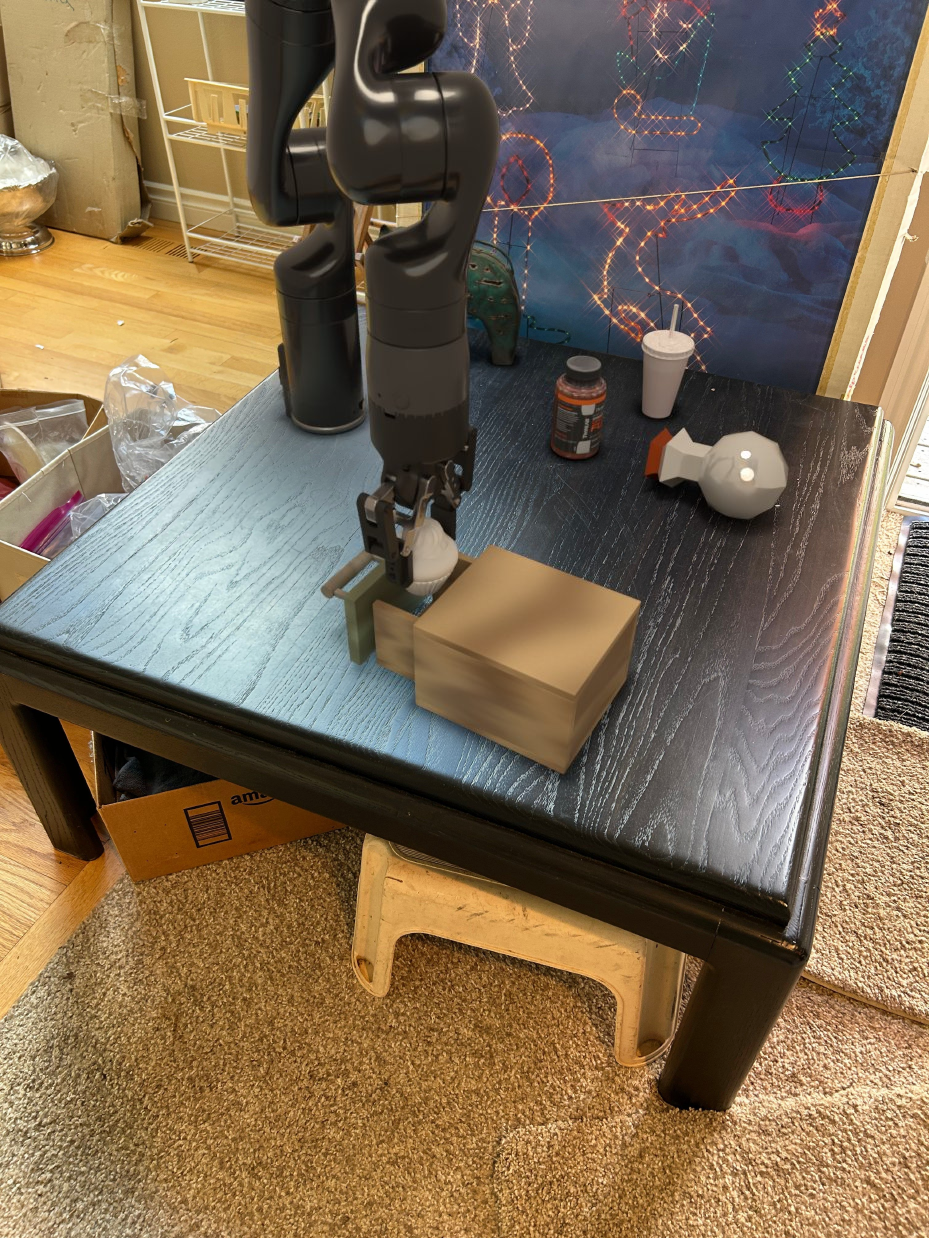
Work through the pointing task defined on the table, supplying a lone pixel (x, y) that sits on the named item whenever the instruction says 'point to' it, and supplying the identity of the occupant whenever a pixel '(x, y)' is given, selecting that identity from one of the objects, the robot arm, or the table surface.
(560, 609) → the cabinet
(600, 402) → the supplement bottle
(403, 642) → the drawer
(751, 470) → the potion bottle
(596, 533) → the table surface
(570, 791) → the table surface
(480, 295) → the ceramic cat
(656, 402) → the smoothie
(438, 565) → the muffin
